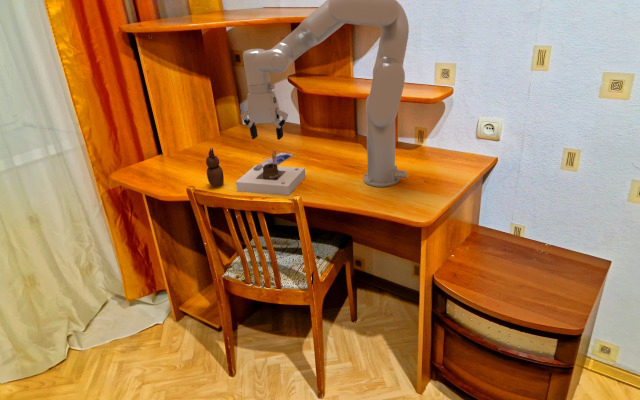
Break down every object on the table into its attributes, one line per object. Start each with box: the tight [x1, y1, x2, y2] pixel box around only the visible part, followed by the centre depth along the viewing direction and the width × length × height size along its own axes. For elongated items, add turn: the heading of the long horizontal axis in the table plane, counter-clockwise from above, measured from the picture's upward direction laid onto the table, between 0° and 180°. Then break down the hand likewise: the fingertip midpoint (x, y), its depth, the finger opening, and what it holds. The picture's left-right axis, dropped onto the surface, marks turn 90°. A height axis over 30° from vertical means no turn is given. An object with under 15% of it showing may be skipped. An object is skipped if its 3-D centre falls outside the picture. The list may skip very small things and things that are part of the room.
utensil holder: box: [261, 149, 280, 180], centre depth 162 cm, size 6×6×12 cm
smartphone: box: [259, 152, 294, 166], centre depth 185 cm, size 7×1×15 cm
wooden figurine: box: [205, 147, 225, 188], centre depth 163 cm, size 7×6×15 cm
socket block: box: [235, 164, 307, 196], centre depth 163 cm, size 20×16×4 cm
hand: (267, 138), depth 157 cm, fingers open, 9 cm apart
